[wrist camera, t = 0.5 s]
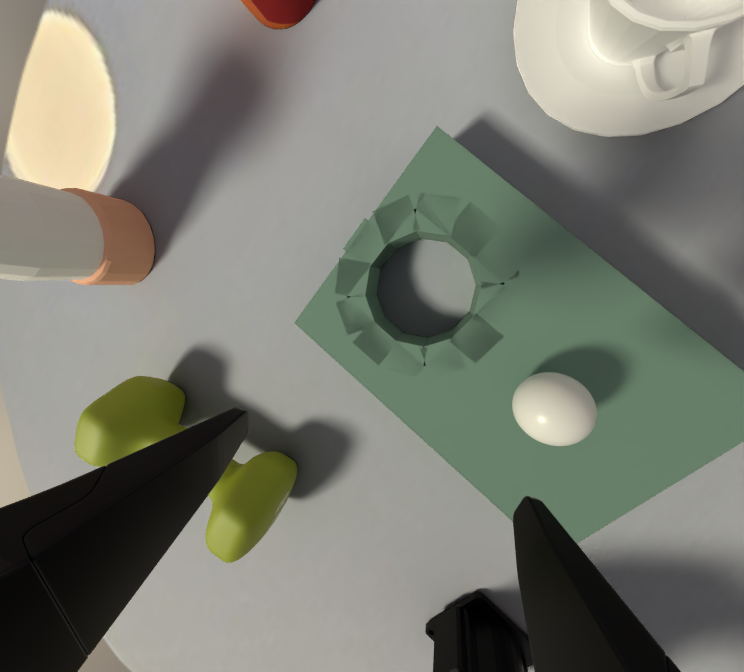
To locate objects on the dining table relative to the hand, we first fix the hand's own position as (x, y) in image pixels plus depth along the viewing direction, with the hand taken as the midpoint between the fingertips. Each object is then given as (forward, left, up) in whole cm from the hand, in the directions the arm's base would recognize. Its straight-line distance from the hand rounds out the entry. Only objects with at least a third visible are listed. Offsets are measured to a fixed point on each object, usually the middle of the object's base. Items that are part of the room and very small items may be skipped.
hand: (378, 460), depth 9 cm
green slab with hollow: (-3, -4, -12) cm, 13 cm away
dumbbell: (+8, +18, -13) cm, 23 cm away
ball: (-6, -4, -7) cm, 10 cm away
